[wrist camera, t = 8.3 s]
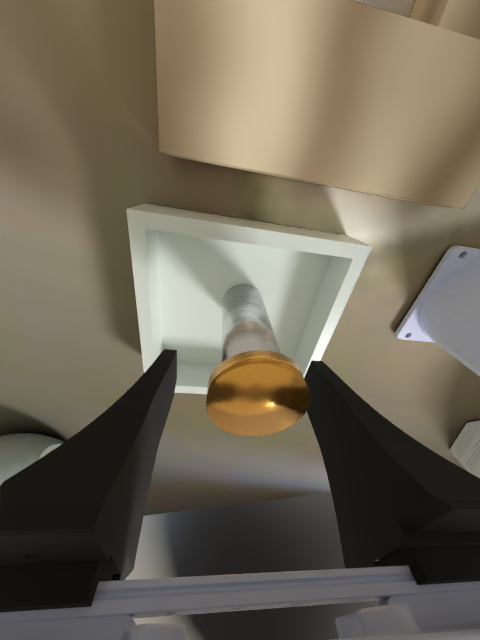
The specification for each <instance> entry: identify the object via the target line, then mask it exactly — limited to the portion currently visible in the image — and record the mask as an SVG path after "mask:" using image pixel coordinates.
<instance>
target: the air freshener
mask: <svg viewBox="0 0 480 640" xmlns="http://www.w3.org/2000/svg"><path fill="white" fill-rule="evenodd" d="M63 443H64V441H62V440H60V439H57V438H53V437H50V436H46V435H42V434H33V433H18V434H9V435H4V436H0V485H1V484H2V483H3V482H4V481H5V480H7V479H8V478H10V477H12V476H13V475H15V474H16V473H18V472H20V471H21V470H23V469H24V468H26V467H28V466H29V465H31V464H32V463H34V462H36V461H37V460H39V459H40V458H42V457H44V456H45V455H47V454H48V453H50V452H51V451H53V450H54V449H55V448H57V447H58V446H60V445H61V444H63Z"/></svg>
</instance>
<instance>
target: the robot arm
mask: <svg viewBox="0 0 480 640" xmlns="http://www.w3.org/2000/svg"><path fill="white" fill-rule="evenodd" d="M461 253H462V254H461ZM460 254H461V255H460ZM395 336H396V337H397V338H398V339H404V340H415V341H425V342H435V343H437V344H438V345H439V346H441V347H442V348H443V349H445V350H446V351H447V352H448V353H450V354H451V355H452V356H454V357H455V358H456V359H458V360H459V361H460V362H461V363H463V364H464V365H465V366H467V367H468V368H469V369H471V370H472V371H473V372H474V373H476V374H477V375H478V376H480V249H477V248H471V247H465V246H459V245H455V246H452V247H451V248H449V249H448V251H447V252H446V253H445V255H444V257H443V258H442V260H441V261H440V263H439V264H438V266H437V268H436V269H435V271H434V272H433V274H432V275H431V277H430V279H429V280H428V282H427V283H426V285H425V286H424V288H423V290H422V291H421V293H420V294H419V296H418V297H417V299H416V300H415V302H414V304H413V305H412V307H411V308H410V310H409V311H408V313H407V315H406V316H405V318H404V319H403V321H402V322H401V324H400V326H399V327H398V329H397V330H396V332H395ZM304 380H305V382H306V385H307V387H308V389H309V392H310V404H309V407H308V409H307V413H308V416H309V418H310V421H311V424H312V427H313V429H314V432H315V435H316V438H317V440H318V443H319V446H320V449H321V452H322V456H323V460H324V464H325V468H326V471H327V475H328V480H329V484H330V488H331V493H332V497H333V502H334V507H335V512H336V516H337V522H338V528H339V534H340V540H341V545H342V551H343V558H344V564H345V567H346V569H331V570H313V571H293V572H274V573H256V574H255V573H254V574H235V575H217V576H197V577H179V578H178V577H177V578H159V579H141V580H140V579H139V580H125V579H126V577H127V576H128V575H129V574H130V573H131V572H132V570H133V568H134V562H135V558H136V552H137V547H138V542H139V536H140V531H141V526H142V521H143V516H144V511H145V506H146V501H147V496H148V491H149V486H150V481H151V477H152V472H153V467H154V463H155V458H156V454H157V449H158V446H159V442H160V439H161V435H162V432H163V429H164V426H165V423H166V419H167V416H168V413H169V410H170V407H171V403H172V400H173V396H174V391H175V386H176V381H177V350H170V349H164V350H163V351H162V352H161V353H160V355H159V356H158V357H157V359H156V360H155V361H154V362H153V364H152V365H151V366H150V367H149V368H148V369H147V371H146V372H145V373H144V374H143V375H142V376H141V377H140V378H139V380H138V381H137V382H136V383H135V384H134V385H133V386H132V387H131V388H130V389H129V390H128V391H127V392H126V393H125V394H124V395H123V396H122V397H121V398H120V399H118V400H117V401H116V402H115V403H114V404H113V405H112V406H111V407H109V408H108V409H107V410H106V411H105V412H104V413H102V414H101V415H100V416H99V417H97V418H96V419H95V420H94V421H93V422H91V423H90V424H89V425H87V426H86V427H85V428H84V429H82V430H81V431H80V432H78V433H77V434H75V435H74V436H73V437H71V438H70V439H68V440H67V441H65V442H64V443H63V444H61V445H60V446H58V447H57V448H55V449H54V450H53V451H51V452H50V453H48V454H47V455H45V456H44V457H42V458H40V459H39V460H37V461H36V462H34V463H32V464H31V465H29V466H28V467H26V468H24V469H23V470H21V471H20V472H18V473H16V474H15V475H13V476H12V477H10V478H8V479H7V480H5V481H4V482H3V483H2V484H1V485H0V640H186V634H185V629H186V628H185V626H184V624H139V625H136V623H135V621H134V620H133V619H132V618H145V617H159V616H172V615H186V614H199V613H213V612H225V611H226V612H227V611H239V610H254V609H267V608H281V607H293V606H308V605H320V604H321V605H322V604H335V603H349V602H363V601H376V600H380V602H379V606H378V607H371V608H365V609H360V610H358V611H357V612H355V613H352V614H350V615H347V616H343V617H339V618H336V622H335V623H336V627H337V630H338V635H339V639H334V640H480V478H478V477H477V476H475V475H473V474H471V473H469V472H468V471H466V470H464V469H462V468H460V467H459V466H457V465H455V464H453V463H451V462H450V461H448V460H446V459H445V458H443V457H441V456H440V455H438V454H437V453H435V452H433V451H432V450H430V449H428V448H427V447H425V446H424V445H422V444H421V443H419V442H418V441H416V440H415V439H413V438H412V437H410V436H409V435H407V434H406V433H405V432H403V431H402V430H400V429H399V428H398V427H396V426H395V425H394V424H392V423H391V422H390V421H388V420H387V419H386V418H384V417H383V416H382V415H381V414H379V413H378V412H377V411H376V410H374V409H373V408H372V407H371V406H370V405H369V404H367V403H366V402H365V401H364V400H363V399H362V398H361V397H359V396H358V395H357V394H356V393H355V392H354V391H353V390H352V389H351V388H350V387H349V386H348V385H347V384H346V383H345V382H343V381H342V380H341V379H340V378H339V377H338V376H337V375H336V374H335V373H334V372H333V371H332V370H331V369H330V368H329V367H328V366H327V365H326V364H325V363H324V362H322V361H311V363H310V366H309V368H308V370H307V373H306V375H305V377H304Z"/></svg>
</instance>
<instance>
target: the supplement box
mask: <svg viewBox="0 0 480 640" xmlns="http://www.w3.org/2000/svg"><path fill="white" fill-rule="evenodd" d="M450 451H451V452H452V454H453V455H454V456H455V457H456V458H457V459H458V461H459V462H460V463H461V464H462V465H463V467H464V468H465V469H466V470H467V471H468V472H469V473H471V474H473V475H475V476H477V477H478V478H480V420H479V421H474V422H468V423H466V425H465V426H464V428H463V429H462V431H461V432H460V434H459V436H458V437H457V438H456V440H455V442H454V444H453V445H452V447H451V449H450Z"/></svg>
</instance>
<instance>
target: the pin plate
mask: <svg viewBox="0 0 480 640" xmlns="http://www.w3.org/2000/svg"><path fill="white" fill-rule="evenodd" d="M154 14H155V45H156V75H157V105H158V135H159V152H161V153H163V154H165V155H168V156H170V157H175V158H180V159H185V160H191V161H196V162H201V163H207V164H212V165H217V166H223V167H228V168H233V169H239V170H244V171H250V172H255V173H260V174H266V175H271V176H276V177H282V178H287V179H292V180H298V181H303V182H308V183H314V184H319V185H324V186H330V187H335V188H340V189H346V190H351V191H357V192H362V193H367V194H373V195H378V196H383V197H389V198H394V199H399V200H405V201H410V202H415V203H421V204H426V205H433V206H442V207H450V208H459V209H464V208H465V206H466V204H467V203H468V201H469V200H470V198H471V196H472V195H473V193H474V191H475V190H476V188H477V187H478V185H479V183H480V0H415V3H414V6H413V9H412V12H411V15H410V17H409V18H408V17H405V16H402V15H398V14H395V13H392V12H389V11H385V10H382V9H379V8H376V7H372V6H369V5H366V4H363V3H359V2H356V1H353V0H154Z"/></svg>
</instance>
